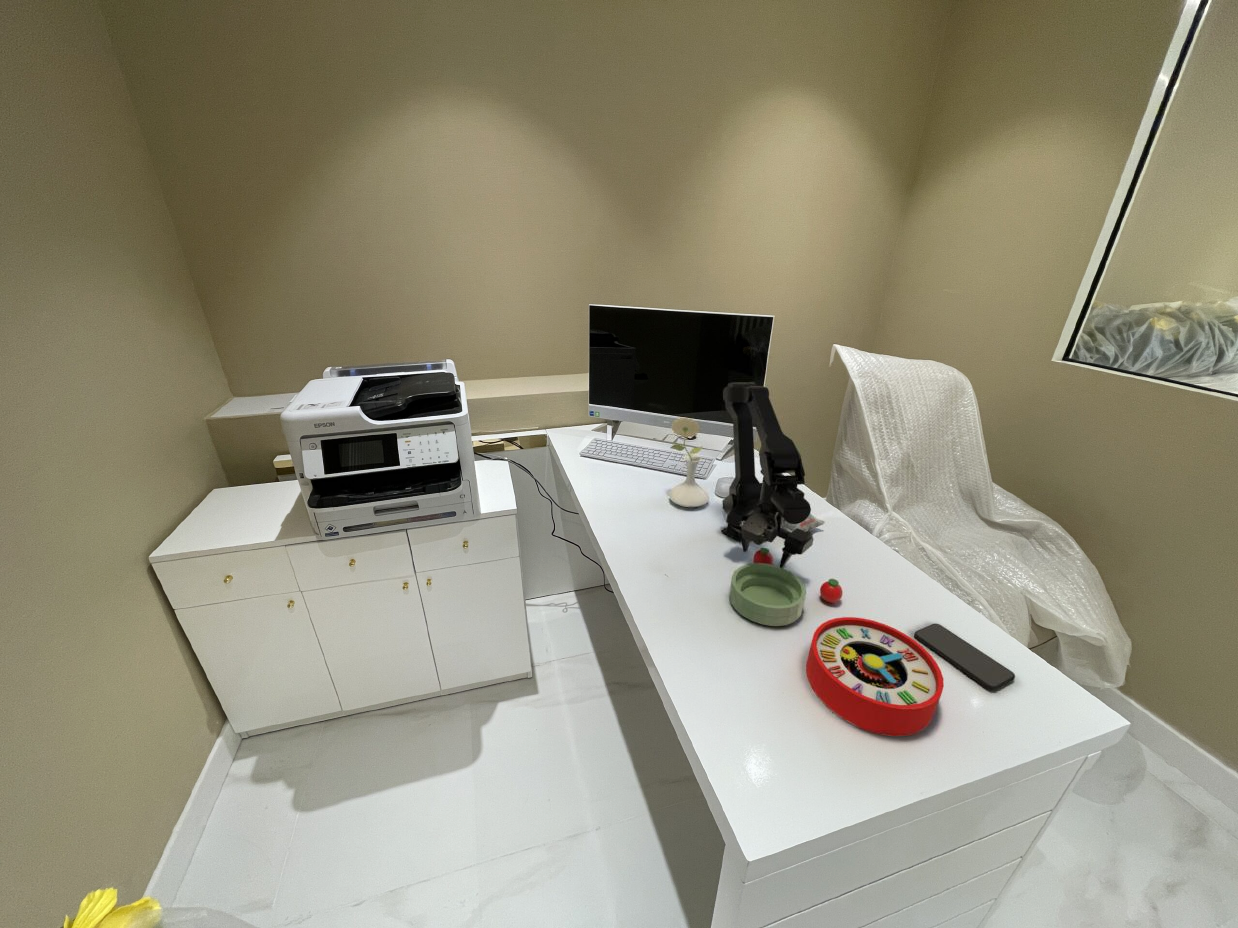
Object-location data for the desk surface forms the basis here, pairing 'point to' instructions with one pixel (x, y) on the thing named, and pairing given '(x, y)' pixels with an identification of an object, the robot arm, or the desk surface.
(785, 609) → the bowl
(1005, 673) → the smartphone
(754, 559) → the red round piece
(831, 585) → the red toy tomato
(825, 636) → the toy clock
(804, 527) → the packaged food
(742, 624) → the desk surface
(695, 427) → the flower in vase
